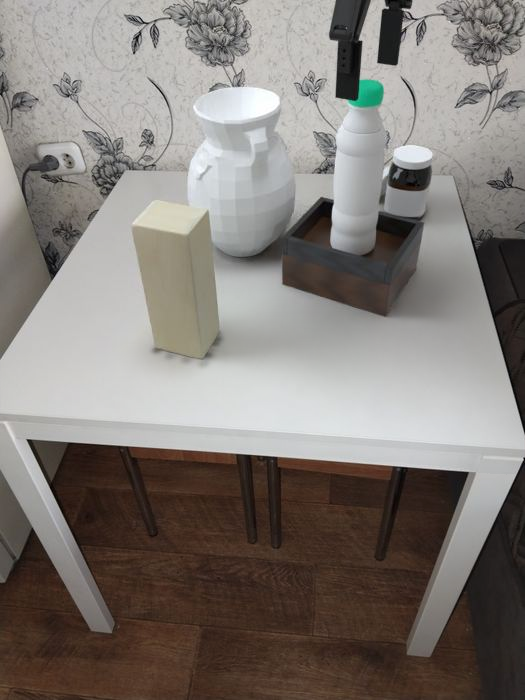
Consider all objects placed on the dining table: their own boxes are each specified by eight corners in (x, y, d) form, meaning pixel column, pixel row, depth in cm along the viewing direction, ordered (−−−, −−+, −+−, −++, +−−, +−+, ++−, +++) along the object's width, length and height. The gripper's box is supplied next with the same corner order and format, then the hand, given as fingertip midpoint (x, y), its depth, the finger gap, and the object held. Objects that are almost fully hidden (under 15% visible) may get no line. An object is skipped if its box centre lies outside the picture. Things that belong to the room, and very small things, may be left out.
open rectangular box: (416, 268, 99) (424, 222, 93) (385, 317, 90) (392, 269, 84) (319, 241, 106) (321, 196, 99) (282, 284, 97) (281, 237, 91)
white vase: (314, 253, 103) (319, 110, 86) (217, 283, 98) (201, 137, 80) (268, 205, 115) (264, 71, 98) (179, 229, 110) (158, 92, 93)
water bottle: (323, 238, 96) (330, 78, 78) (363, 230, 97) (379, 71, 80) (340, 262, 91) (352, 97, 73) (382, 253, 92) (403, 89, 75)
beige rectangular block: (223, 328, 90) (211, 205, 75) (204, 360, 85) (186, 235, 70) (176, 317, 92) (155, 196, 77) (154, 348, 87) (127, 225, 72)
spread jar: (421, 228, 108) (432, 169, 100) (360, 220, 110) (365, 161, 102) (429, 196, 116) (439, 139, 108) (371, 189, 119) (377, 132, 110)
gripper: (394, -144, 70) (377, 48, 85) (299, -119, 55) (297, 110, 70) (456, -144, 68) (427, 54, 82) (374, -117, 52) (356, 120, 67)
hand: (368, 80), depth 76 cm, fingers open, 13 cm apart
